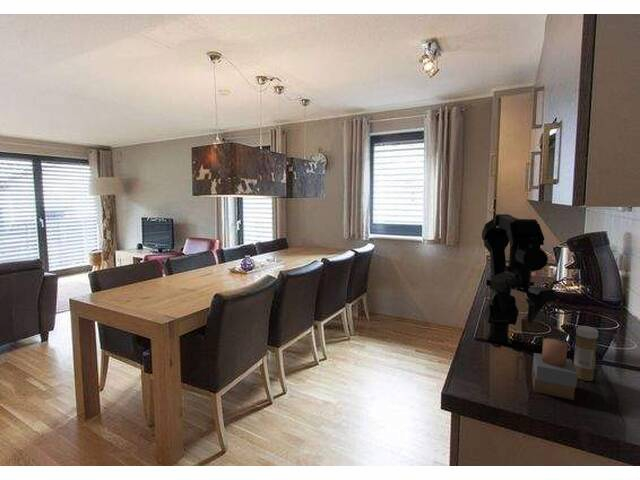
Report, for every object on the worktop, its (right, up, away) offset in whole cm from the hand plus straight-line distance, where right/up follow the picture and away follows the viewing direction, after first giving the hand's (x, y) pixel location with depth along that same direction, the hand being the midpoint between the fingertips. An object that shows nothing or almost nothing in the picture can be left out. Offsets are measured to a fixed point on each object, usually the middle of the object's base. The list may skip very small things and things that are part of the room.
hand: (516, 316), depth 101 cm
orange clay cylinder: (+1, -8, -14) cm, 16 cm away
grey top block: (+1, -12, -14) cm, 18 cm away
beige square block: (+1, -15, -13) cm, 20 cm away
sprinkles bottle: (+13, -14, -8) cm, 21 cm away
